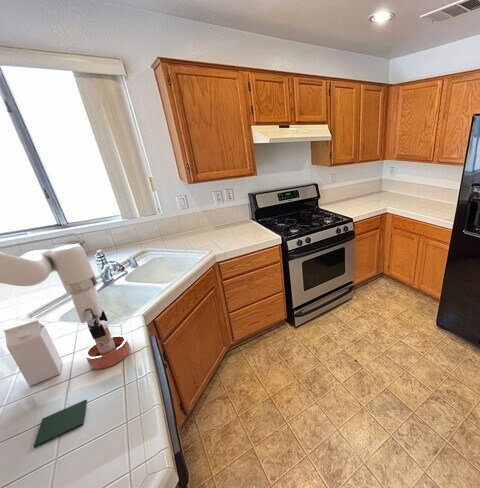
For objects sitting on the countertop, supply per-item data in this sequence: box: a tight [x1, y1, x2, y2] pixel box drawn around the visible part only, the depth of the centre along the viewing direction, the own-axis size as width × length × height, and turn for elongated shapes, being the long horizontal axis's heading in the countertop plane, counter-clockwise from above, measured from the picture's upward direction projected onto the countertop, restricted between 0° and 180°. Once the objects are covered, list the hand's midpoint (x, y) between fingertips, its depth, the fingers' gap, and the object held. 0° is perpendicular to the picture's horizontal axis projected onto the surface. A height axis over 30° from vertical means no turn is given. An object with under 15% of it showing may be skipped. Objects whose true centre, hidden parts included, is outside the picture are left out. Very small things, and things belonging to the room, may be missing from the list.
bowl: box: [84, 334, 131, 370], centre depth 90 cm, size 11×11×5 cm
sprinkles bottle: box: [93, 320, 116, 356], centre depth 88 cm, size 5×5×14 cm
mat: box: [33, 399, 88, 449], centre depth 69 cm, size 9×9×1 cm
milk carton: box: [3, 319, 63, 387], centre depth 82 cm, size 7×7×19 cm
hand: (101, 329), depth 87 cm, fingers open, 9 cm apart
